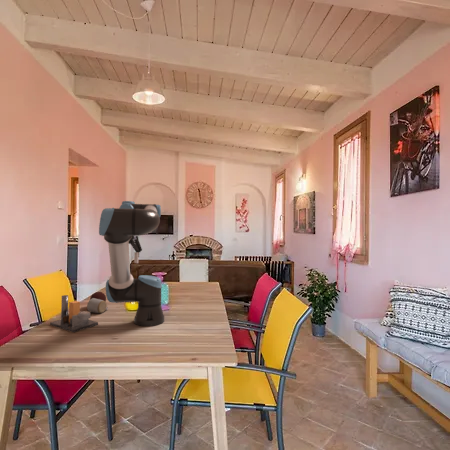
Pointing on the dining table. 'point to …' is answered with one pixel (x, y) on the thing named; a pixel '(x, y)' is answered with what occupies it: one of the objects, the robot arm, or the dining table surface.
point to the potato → (99, 296)
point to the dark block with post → (65, 319)
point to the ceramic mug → (96, 305)
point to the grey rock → (80, 318)
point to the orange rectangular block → (73, 309)
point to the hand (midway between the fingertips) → (127, 264)
